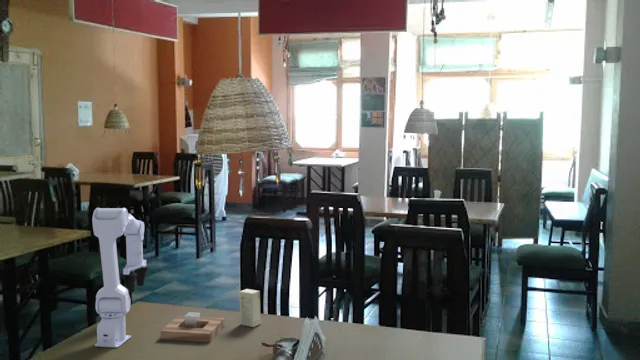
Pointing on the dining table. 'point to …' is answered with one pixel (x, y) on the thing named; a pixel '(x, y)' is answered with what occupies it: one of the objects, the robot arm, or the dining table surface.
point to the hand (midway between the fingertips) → (135, 288)
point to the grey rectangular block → (192, 320)
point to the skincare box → (250, 307)
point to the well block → (192, 330)
